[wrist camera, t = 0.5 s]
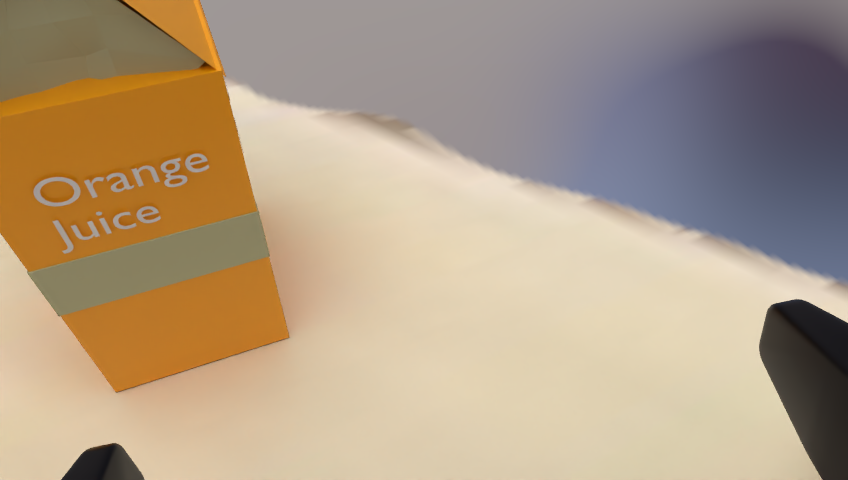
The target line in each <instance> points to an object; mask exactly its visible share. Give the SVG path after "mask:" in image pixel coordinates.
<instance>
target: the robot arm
mask: <svg viewBox="0 0 848 480" xmlns="http://www.w3.org/2000/svg"><path fill="white" fill-rule="evenodd" d="M759 351H760V356H761V359H762V362H763V364H764V366H765V368H766V370H767V372H768V374H769V376H770V378H771V380H772V382H773V384H774V386H775V389H776V391H777V393H778V395H779V397H780V399H781V401H782V403H783V405H784V407H785V409H786V411H787V413H788V415H789V417H790V419H791V422H792V424H793V426H794V428H795V430H796V432H797V434H798V436H799V438H800V440H801V442H802V444H803V446H804V448H805V450H806V452H807V454H808V456H809V458H810V459H811V461H812V463H813V465H814V466H815V468H816V470H817V471H818V473H819V475H820V476H821V478H822V479H823V480H848V323H847V322H845V321H843V320H841V319H839V318H837V317H835V316H834V315H832V314H830V313H828V312H826V311H824V310H822V309H820V308H818V307H816V306H815V305H813V304H811V303H809V302H807V301H804V300H799V299H796V300H790V301H785V302H781V303H776V304H773V305H771V306H770V308H769V309H768V311H767V314H766V318H765V322H764V326H763V331H762V335H761V339H760V344H759ZM61 480H144V477H143V475H142V473H141V472H140V471H139V469H138V468H137V466H136V465H135V464H134V462H133V461H132V459H131V458H130V457H129V455H128V454H127V453H126V451H125V450H124V448H123V447H122V446H121V445H119V444H116V443H112V444H107V445H102V446H97V447H93V448H90V449H87V450H86V451H85V452H83V453H82V454H81V455H80V457H79V458H78V459H77V460H76V462H75V463H74V464H73V465H72V467H71V468H70V469H69V470H68V472H67V473H66V474H65V476H64V477H63V478H62V479H61Z"/></svg>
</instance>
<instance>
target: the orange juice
mask: <svg viewBox="0 0 848 480" xmlns="http://www.w3.org/2000/svg"><path fill="white" fill-rule="evenodd" d="M223 75H224V76H225V77H226V75H225V72H224V69H223V66H222V64H221V61H220V58H219V55H218V52H217V49H216V46H215V43H214V40H213V37H212V35H211V32H210V29H209V26H208V23H207V20H206V17H205V14H204V11H203V8H202V5H201V3H200V0H0V233H1V235H2V236H3V237H4V239H5V240H6V241H7V243H8V244H9V246H10V247H11V248H12V250H13V251H14V252H15V254H16V255H17V257H18V258H19V259H20V261H21V262H22V263H23V265H24V266H25V268H26V269H27V271H28V275H29V276H30V277H31V279H32V280H33V282H34V283H35V284H36V286H37V287H38V288H39V290H40V291H41V292H42V294H43V295H44V297H45V298H46V299H47V301H48V302H49V303H50V305H51V306H52V308H53V309H54V310H55V312H56V313H57V314H58V316H61V317H62V319H63V320H64V321H65V323H66V324H67V325H68V327H69V328H70V330H71V331H72V332H73V334H74V335H75V336H76V338H77V339H78V341H79V342H80V343H81V345H82V346H83V348H84V349H85V350H86V352H87V353H88V354H89V356H90V357H91V359H92V360H93V361H94V363H95V364H96V365H97V367H98V368H99V370H100V371H101V372H102V374H103V375H104V376H105V378H106V379H107V381H108V382H109V383H110V385H111V386H112V387H113V389H114V390H115V392H119V391H122V390H125V389H128V388H132V387H135V386H138V385H141V384H144V383H147V382H150V381H154V380H157V379H160V378H163V377H166V376H169V375H172V374H176V373H179V372H182V371H185V370H188V369H191V368H194V367H198V366H201V365H204V364H207V363H210V362H213V361H216V360H220V359H223V358H226V357H229V356H232V355H235V354H238V353H242V352H245V351H248V350H251V349H254V348H257V347H260V346H264V345H267V344H270V343H273V342H276V341H279V340H282V339H286V338H289V334H288V330H287V326H286V322H285V318H284V314H283V310H282V306H281V302H280V298H279V294H278V290H277V286H276V283H275V279H274V275H273V271H272V267H271V263H270V259H269V256H270V255H269V251H268V247H267V243H266V239H265V235H264V231H263V227H262V223H261V219H260V215H259V211H258V208H257V205H256V202H255V199H254V196H253V192H252V188H251V184H250V180H249V176H248V172H247V168H246V165H245V161H244V157H243V153H244V152H243V153H242V150H243V149H241V145H240V143H241V142H240V141H239V139H240V138H239V137H238V135H239V134H238V132H237V131H238V130H237V128H236V127H237V126H236V124H235V123H236V122H235V120H234V119H235V118H234V117H233V113H232V109H231V105H230V102H229V100H230V98H229V96H228V95H229V94H227V91H228V90H226V86H225V84H226V83H225V82H224V78H223V77H224V76H223Z"/></svg>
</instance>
